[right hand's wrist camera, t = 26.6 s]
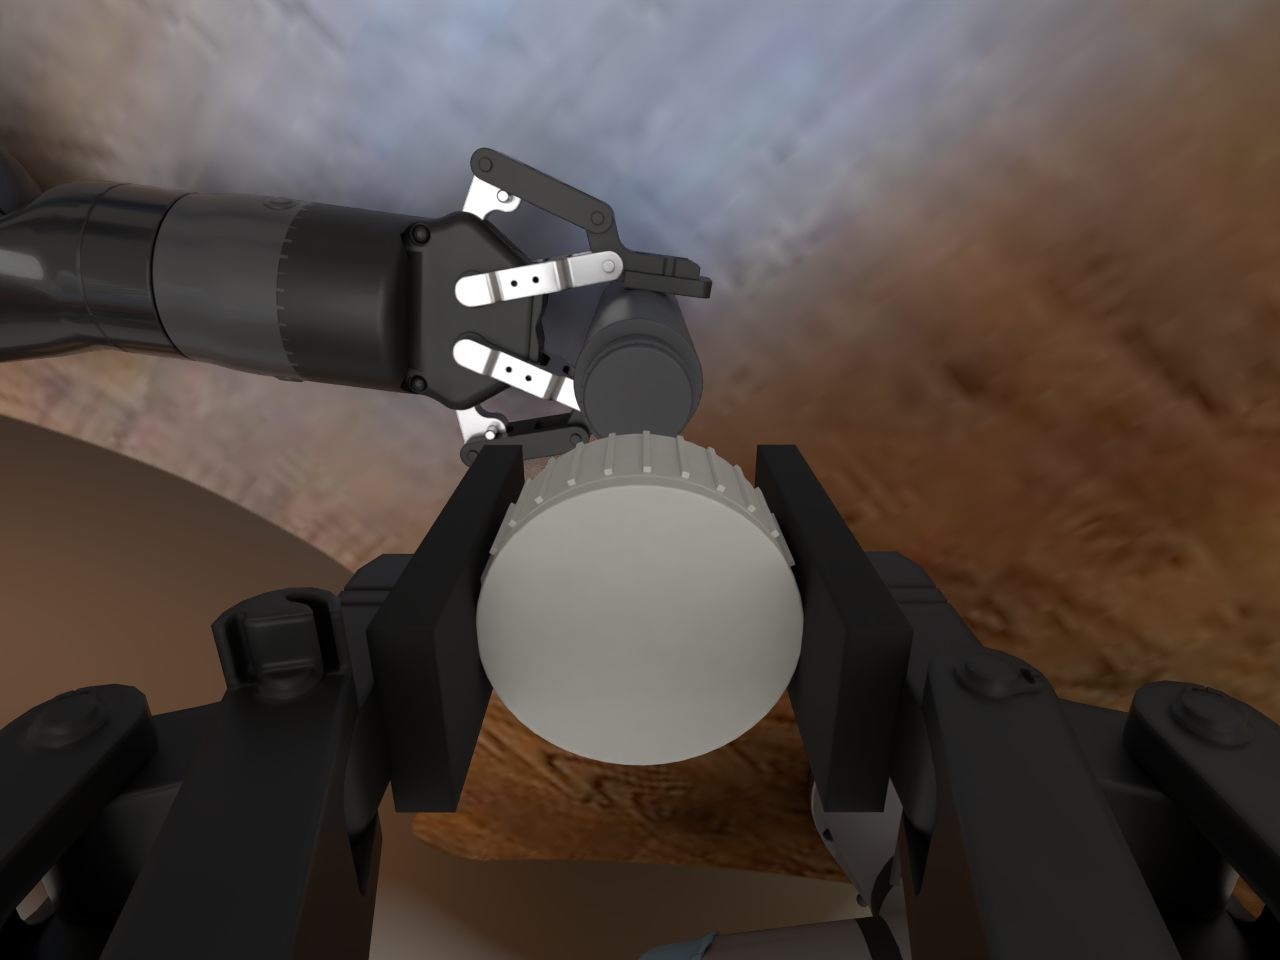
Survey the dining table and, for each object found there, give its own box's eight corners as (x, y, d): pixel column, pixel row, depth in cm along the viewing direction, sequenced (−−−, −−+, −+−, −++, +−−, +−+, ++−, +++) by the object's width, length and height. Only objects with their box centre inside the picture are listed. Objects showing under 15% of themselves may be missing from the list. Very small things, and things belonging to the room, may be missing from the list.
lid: (455, 475, 12) (414, 536, 9) (742, 391, 11) (766, 436, 9) (554, 704, 13) (538, 799, 11) (805, 641, 13) (839, 728, 11)
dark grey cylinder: (642, 254, 36) (645, 298, 20) (695, 318, 37) (737, 408, 21) (581, 309, 37) (537, 393, 21) (634, 369, 38) (630, 493, 22)
